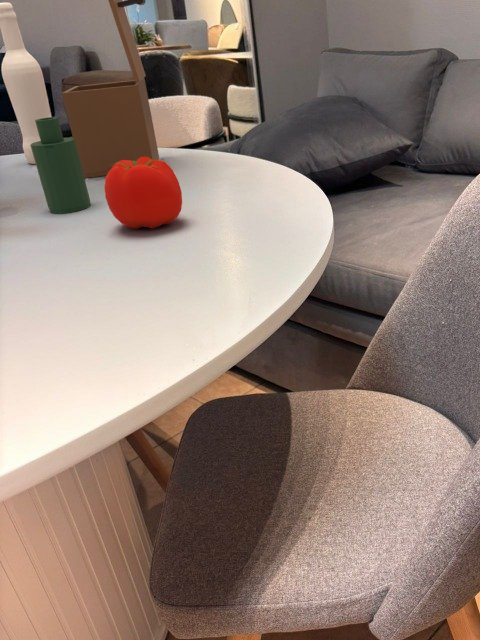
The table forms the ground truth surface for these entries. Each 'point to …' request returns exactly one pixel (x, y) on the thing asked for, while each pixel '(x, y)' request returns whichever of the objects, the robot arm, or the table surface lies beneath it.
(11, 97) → the bottle
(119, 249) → the table surface
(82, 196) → the bottle small
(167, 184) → the tomato
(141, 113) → the case
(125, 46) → the case lid
